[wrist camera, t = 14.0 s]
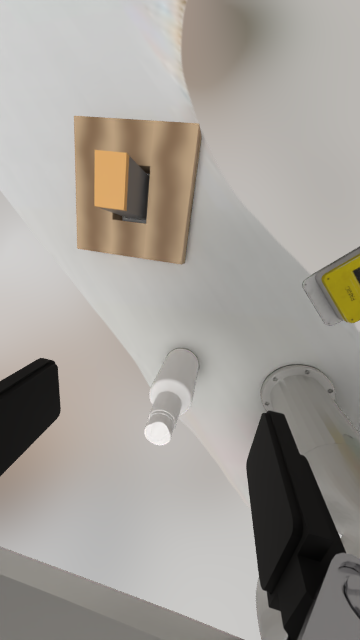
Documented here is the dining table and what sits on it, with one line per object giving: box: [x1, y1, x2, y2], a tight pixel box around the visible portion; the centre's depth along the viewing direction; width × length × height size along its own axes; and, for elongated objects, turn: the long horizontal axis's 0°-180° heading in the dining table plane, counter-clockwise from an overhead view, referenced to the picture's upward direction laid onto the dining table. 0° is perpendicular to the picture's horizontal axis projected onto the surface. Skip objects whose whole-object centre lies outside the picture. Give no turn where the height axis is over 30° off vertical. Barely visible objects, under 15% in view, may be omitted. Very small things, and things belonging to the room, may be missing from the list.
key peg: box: [94, 150, 150, 220], centre depth 30 cm, size 4×6×10 cm, turn 173°
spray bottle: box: [144, 349, 199, 445], centre depth 35 cm, size 7×7×18 cm
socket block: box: [74, 116, 201, 264], centre depth 33 cm, size 18×18×4 cm
